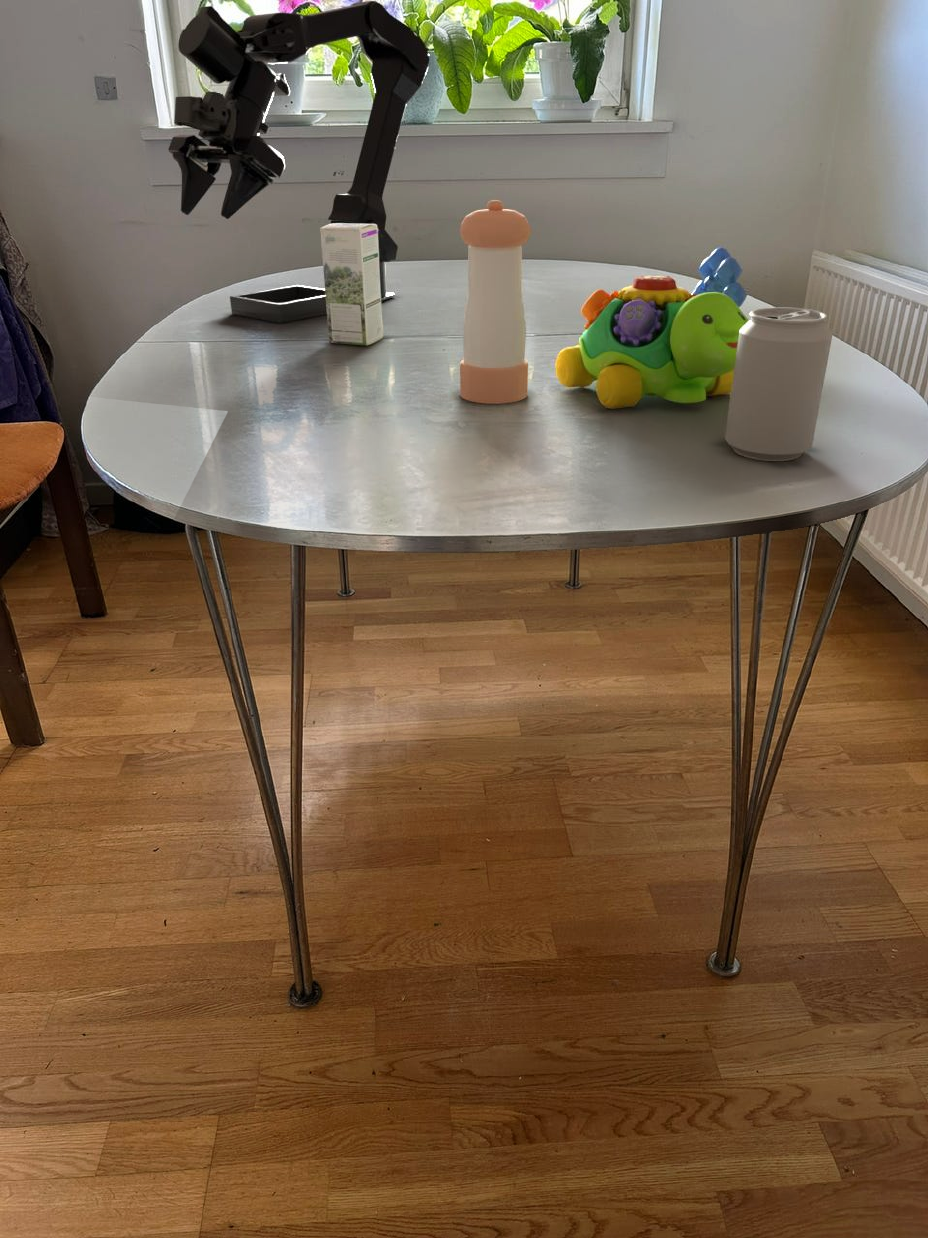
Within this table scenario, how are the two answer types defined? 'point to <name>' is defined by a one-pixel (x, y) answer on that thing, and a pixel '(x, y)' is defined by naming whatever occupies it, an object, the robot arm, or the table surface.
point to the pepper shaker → (494, 307)
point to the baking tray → (281, 304)
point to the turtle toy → (654, 344)
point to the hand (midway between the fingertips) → (203, 215)
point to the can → (778, 383)
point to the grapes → (721, 276)
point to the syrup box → (352, 283)
